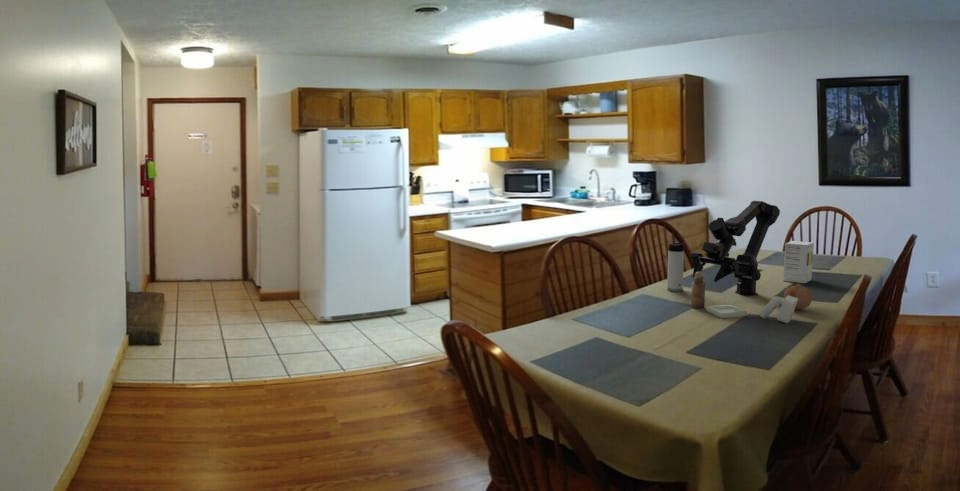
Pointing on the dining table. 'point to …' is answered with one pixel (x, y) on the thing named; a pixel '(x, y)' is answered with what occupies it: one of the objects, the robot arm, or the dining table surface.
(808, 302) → the onion
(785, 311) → the wall hook
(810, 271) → the supplement box
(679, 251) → the travel mug
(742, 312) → the keeper dish
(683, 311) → the dining table surface
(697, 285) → the pepper mill
